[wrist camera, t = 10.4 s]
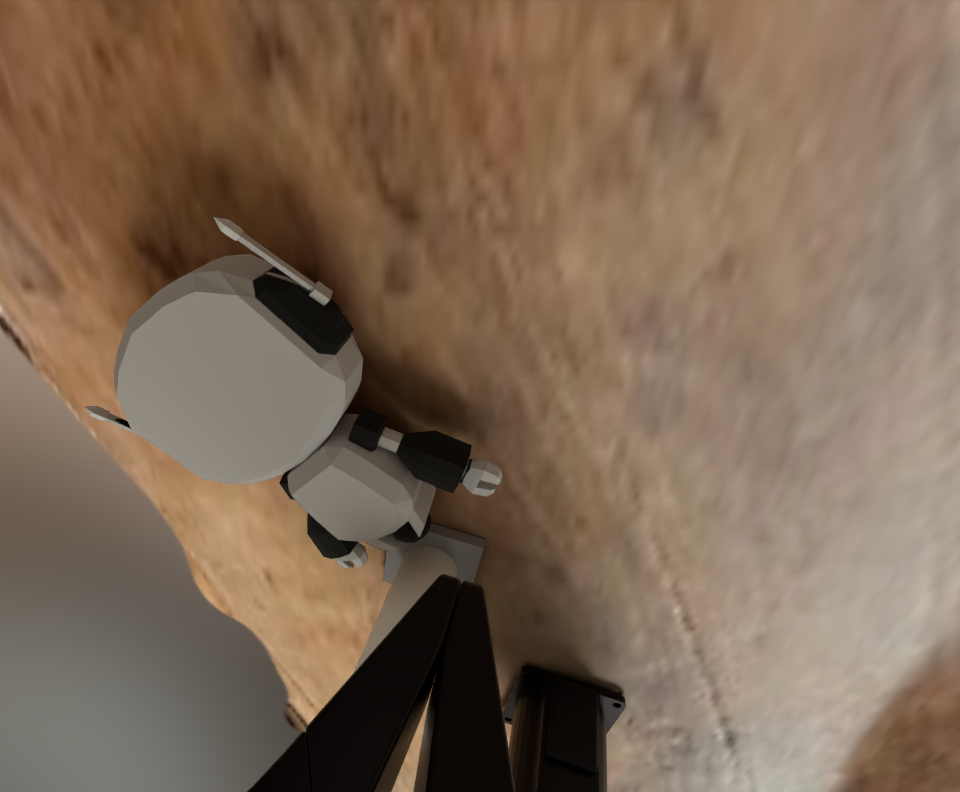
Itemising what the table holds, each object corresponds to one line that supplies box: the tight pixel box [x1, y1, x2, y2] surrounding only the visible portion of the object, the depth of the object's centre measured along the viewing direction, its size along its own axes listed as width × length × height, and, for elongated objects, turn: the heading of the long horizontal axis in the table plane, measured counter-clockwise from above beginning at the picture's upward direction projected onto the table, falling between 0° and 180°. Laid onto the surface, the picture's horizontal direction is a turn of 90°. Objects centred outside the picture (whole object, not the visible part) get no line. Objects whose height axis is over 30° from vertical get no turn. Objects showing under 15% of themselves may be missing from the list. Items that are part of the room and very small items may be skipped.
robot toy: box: [85, 217, 502, 568], centre depth 21 cm, size 12×4×15 cm
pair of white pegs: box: [354, 523, 486, 672], centre depth 16 cm, size 33×5×9 cm, turn 170°
